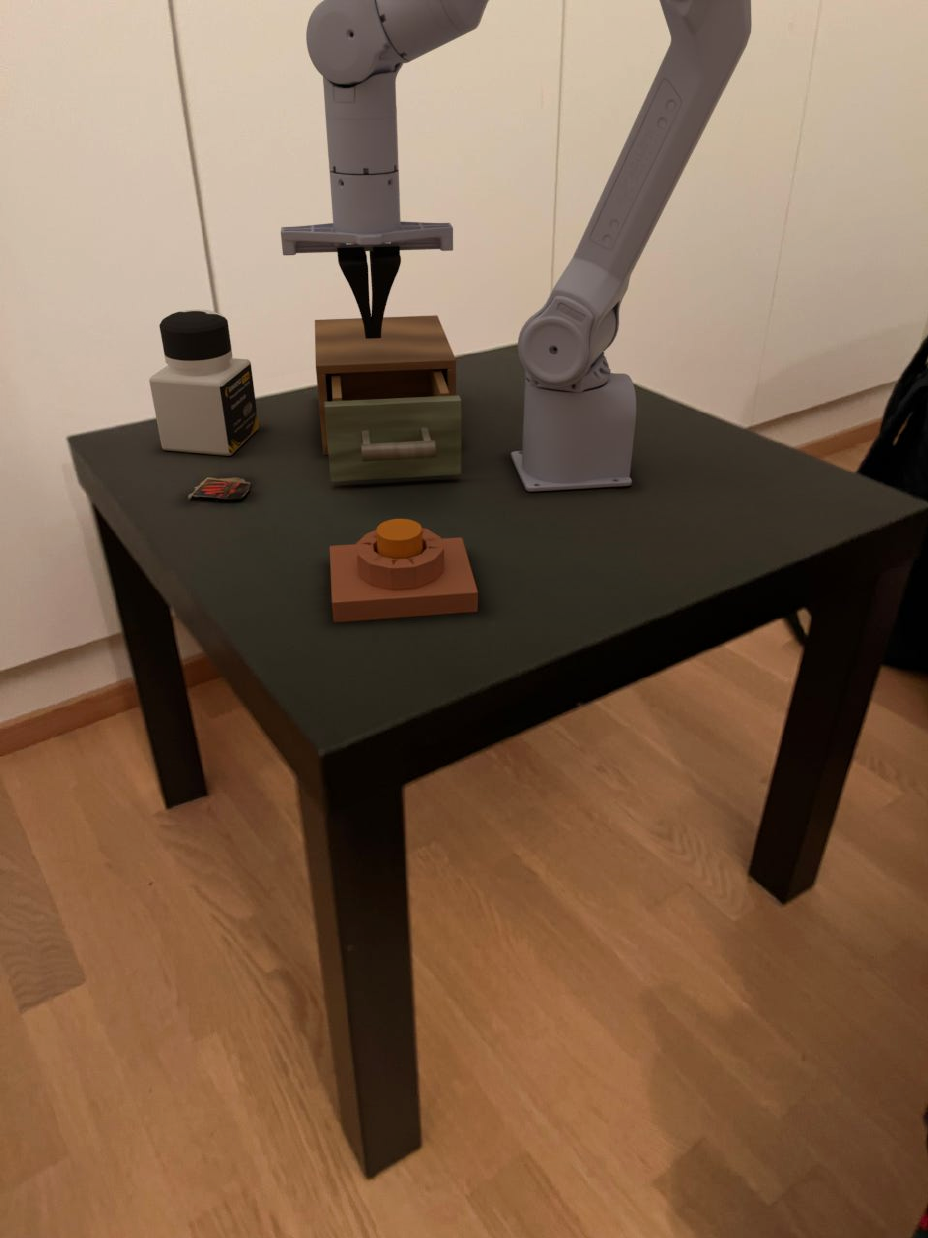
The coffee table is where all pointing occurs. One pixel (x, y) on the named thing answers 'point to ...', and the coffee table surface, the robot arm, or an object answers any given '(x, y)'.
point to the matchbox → (221, 488)
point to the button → (399, 539)
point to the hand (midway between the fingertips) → (372, 335)
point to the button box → (401, 580)
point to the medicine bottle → (202, 387)
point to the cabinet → (379, 352)
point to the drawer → (392, 425)
